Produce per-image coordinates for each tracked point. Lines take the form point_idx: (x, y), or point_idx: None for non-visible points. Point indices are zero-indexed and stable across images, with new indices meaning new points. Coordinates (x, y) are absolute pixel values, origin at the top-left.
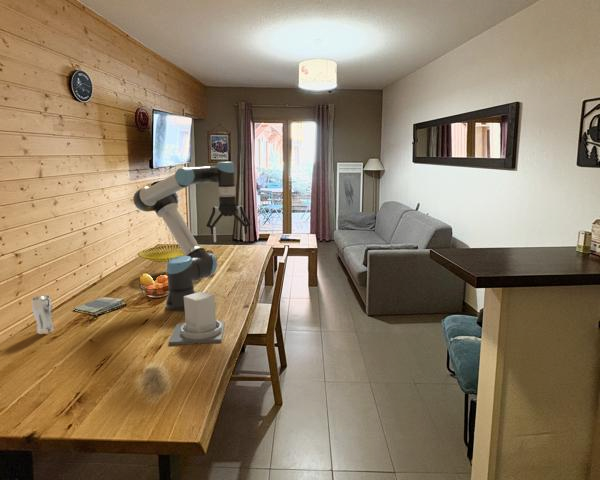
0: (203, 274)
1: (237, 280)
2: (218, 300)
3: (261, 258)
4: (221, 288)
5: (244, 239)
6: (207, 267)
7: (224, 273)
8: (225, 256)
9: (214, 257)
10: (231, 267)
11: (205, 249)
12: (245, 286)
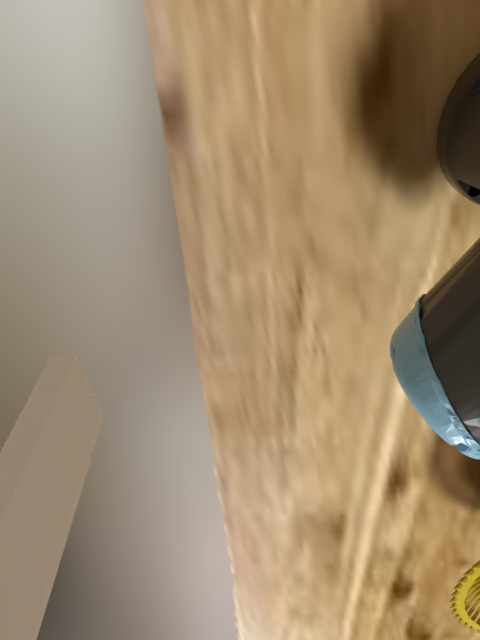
0: (470, 249)
1: (290, 441)
2: (337, 206)
3: (247, 606)
4: (343, 359)
5: (44, 375)
6: (459, 294)
7: (351, 499)
8: (365, 615)
9: (425, 403)
10: (333, 545)
11: (455, 599)
12: (243, 383)
